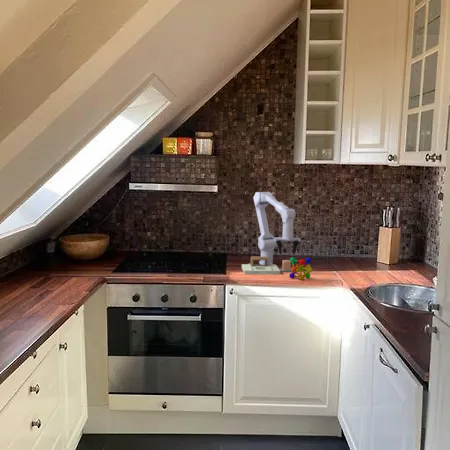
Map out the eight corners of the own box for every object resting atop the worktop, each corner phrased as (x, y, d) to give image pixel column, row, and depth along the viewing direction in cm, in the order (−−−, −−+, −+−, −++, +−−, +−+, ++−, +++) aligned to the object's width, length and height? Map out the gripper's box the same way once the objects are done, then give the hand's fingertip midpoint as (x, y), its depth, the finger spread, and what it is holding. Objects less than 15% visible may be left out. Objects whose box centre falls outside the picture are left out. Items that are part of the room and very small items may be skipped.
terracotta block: (282, 268, 276) (282, 260, 276) (289, 268, 277) (289, 260, 276) (283, 270, 273) (283, 261, 272) (290, 270, 273) (290, 261, 272)
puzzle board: (241, 267, 280) (241, 263, 280) (275, 267, 281) (275, 263, 281) (244, 274, 264) (244, 269, 264) (280, 274, 266) (280, 269, 265)
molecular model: (309, 277, 260) (310, 256, 258) (312, 280, 253) (313, 259, 251) (288, 277, 260) (289, 256, 258) (290, 280, 253) (291, 259, 251)
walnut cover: (250, 263, 282) (250, 256, 281) (266, 263, 282) (266, 256, 282) (251, 266, 275) (252, 258, 274) (268, 266, 275) (268, 259, 275)
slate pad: (279, 269, 278) (279, 268, 278) (291, 269, 278) (291, 268, 278) (281, 272, 271) (281, 271, 271) (293, 272, 272) (293, 271, 272)
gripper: (276, 231, 267) (275, 255, 269) (301, 231, 268) (300, 255, 270) (274, 229, 274) (273, 252, 276) (299, 229, 275) (298, 252, 277)
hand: (286, 253), depth 273 cm, fingers open, 7 cm apart
